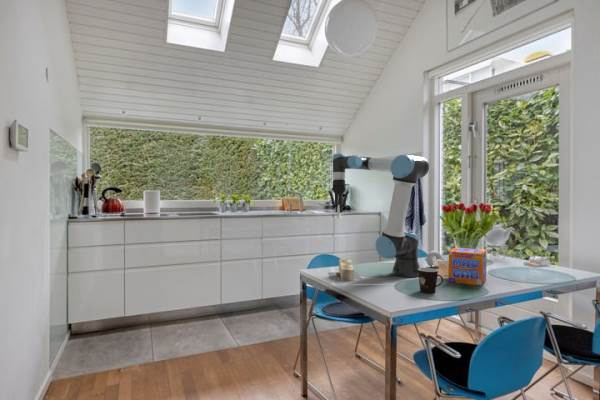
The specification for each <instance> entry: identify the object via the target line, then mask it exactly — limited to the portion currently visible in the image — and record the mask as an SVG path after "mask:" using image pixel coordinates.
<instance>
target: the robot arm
mask: <svg viewBox="0 0 600 400" xmlns="http://www.w3.org/2000/svg"><path fill="white" fill-rule="evenodd" d="M346 170H364V171H365V170H366V171H367V170H368V171H376V172H388V173H391V175H392V181H393V183H394V187H393V192H392V197H391V203H390V207H389V211H388V217H387V222H386V228H384V229H382V232H381V236H379V237H378V238H376V240H375V250H376V252H377V254H378V255H379V256H380V257H381V258H383V259H390V260H391V259H394V258H395V260H394V263H393V266H392V270H391V272H392V273H391V274H392V275H393V276H397V277H403V278H417V277H418V278H419V275H418V269H419V268H421V266H420V264H419V261H418V260H419V259H418V258H419V257H418V256H419V237H418V236H419V235H418V234H417V233H414V232H407V231H406V232H404V228H405V222H406V218H407V212H408V208H409V203H410V199H411V194H412V190H413V187H414V186H415V185H416V184H417V182H418V179H423V178H424V177H425V176H426V175H428V173H429V171H430V163H429V161H428V160H427V159H426V157H423V156H422V155H413V154H412V155H411V154H400V155H397V156H396V157H395V158H386V157H370V156H369V157H368V156H361V155H357V154H356V155H354V154H353V155H346V154H345V153H334V154H333V155H332V188H331V189H330V190H328V194H329V196H330V200H331V204H332V207H334V208H335V213H336V215H337V216H336V218H337V219H341V215H342V213H343V207H346V204H347V200H348V195H349V194H350V190H348V189H347V188H346V180H345V179H346ZM333 193H334V194H333ZM344 193H345V194H344ZM343 194H344V197H343ZM334 196H335V198H334Z"/></svg>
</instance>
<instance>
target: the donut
mask: <svg viewBox="0 0 600 400" xmlns="http://www.w3.org/2000/svg"><path fill="white" fill-rule="evenodd" d="M433 257H435V261H436V260H437V259H442V260H443V256H442V254H441V253H440V252H439V251H437V250H431V251H429V252H428V253H427V255H426V257H425V260H426V264H427V265H428V266H429V267H431V268H433V267H432V265H433V262H434V261H433Z"/></svg>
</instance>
